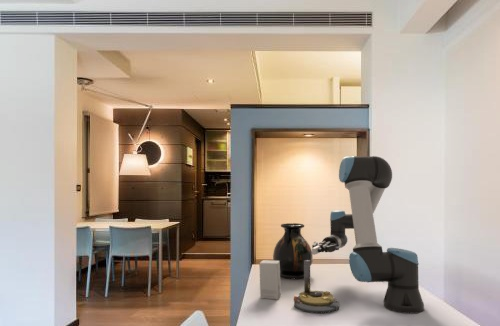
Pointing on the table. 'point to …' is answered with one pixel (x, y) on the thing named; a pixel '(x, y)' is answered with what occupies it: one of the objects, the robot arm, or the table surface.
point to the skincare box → (270, 279)
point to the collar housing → (316, 309)
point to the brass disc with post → (309, 299)
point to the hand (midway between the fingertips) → (313, 251)
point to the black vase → (292, 252)
